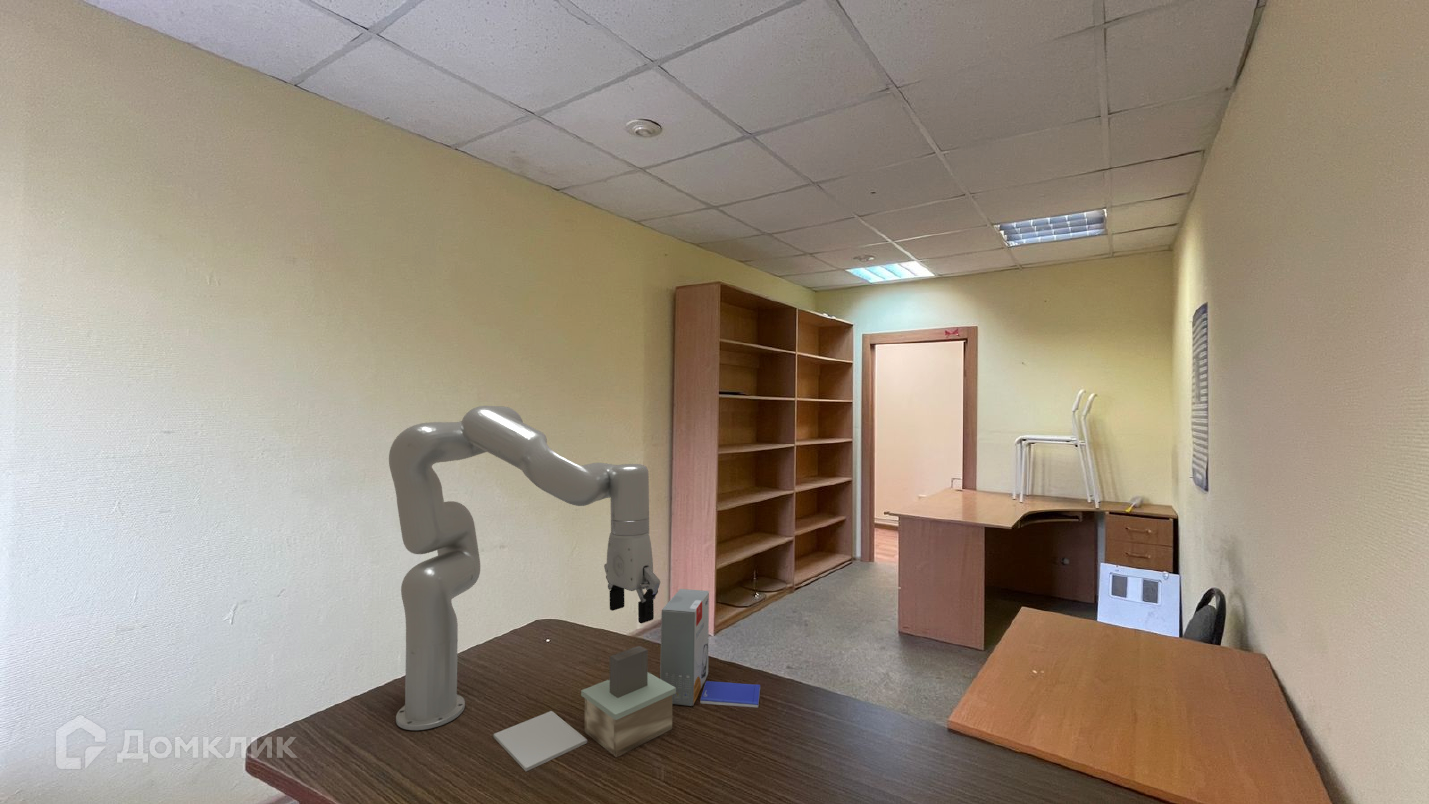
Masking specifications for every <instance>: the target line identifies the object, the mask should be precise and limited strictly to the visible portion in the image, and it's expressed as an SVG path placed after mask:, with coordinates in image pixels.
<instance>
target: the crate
mask: <svg viewBox="0 0 1429 804" xmlns="http://www.w3.org/2000/svg"><path fill="white" fill-rule="evenodd" d="M671 730H673V704H672V695H670V696H668V697H666V698H664V699H662V700H659V701H657V702H655V703H653V704H651V705H648V706H646V707H644V708H642V709H640V710H637V711H635V712H633V713H631V714H629V715H626V716H624V717H622V718H620V719H618V720H615V719H613V718H612V717H610V716H609V715H608V714H606V713H605V712H603V711H602V710H601V709H599V708H598V707H596V706H595V705H594V704H592V703H591V702H589V701H588V700H587V699H585V698H584V733H585V734H586V735H588V737H590V738H591V739H593V740H594V741H595V742H597V744H599V745H600V746H601V747H603V748H604V750H606V751H608V753H610V754H611V755H613V757H615V758H619V757H620V756H622V755H624V754H627V753H628V752H630V751H632V750H634V749H636V748H638V747H640V746H642V745H644V744H645V743H648V742H650V741H652V740H654V739H656V738H658V737H660V736H661V735H663V734H666V733H668V732H669V731H671Z"/></svg>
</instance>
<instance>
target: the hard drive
mask: <svg viewBox="0 0 1429 804" xmlns="http://www.w3.org/2000/svg"><path fill="white" fill-rule="evenodd" d="M760 692H761V684H752V683H751V684H750V683H738V682H737V683H735V682H725V681H712V680H711V681H710V680H705V682H704V687H703V690H702V693H701V696H700V700H699V701H700V704H704V705H705V704H707V705H719V706H732V707H734V706H735V707H745V708H747V707H748V708H756V709H757V708H759V705H760V703H759V702H760V696H761V694H760Z"/></svg>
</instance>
